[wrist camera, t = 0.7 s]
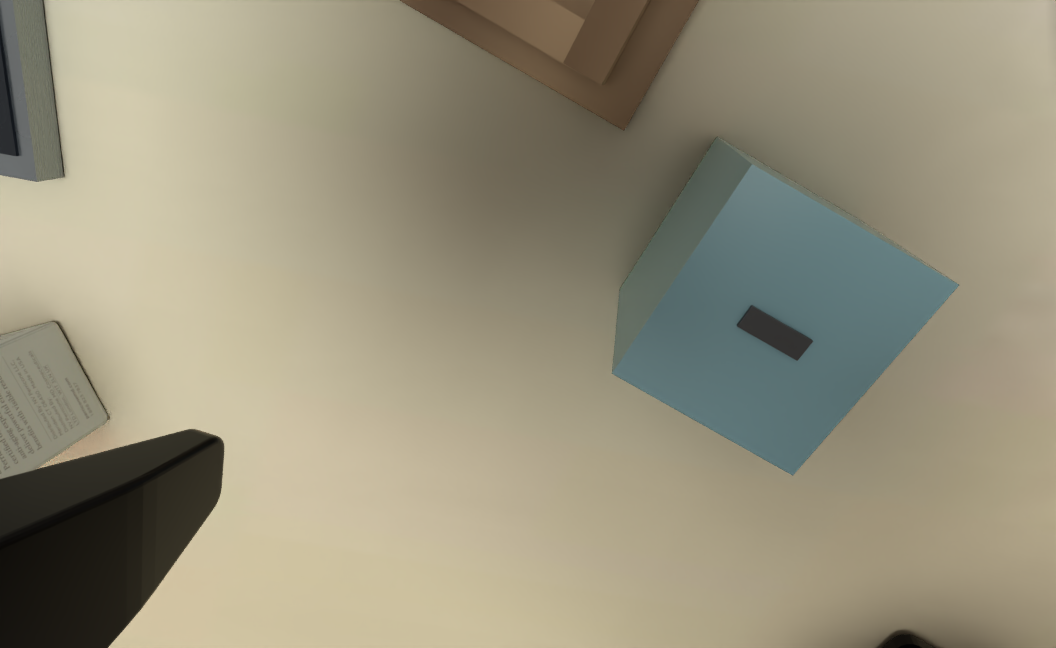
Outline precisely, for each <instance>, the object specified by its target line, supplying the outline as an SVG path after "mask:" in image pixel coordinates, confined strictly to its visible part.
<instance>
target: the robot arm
mask: <svg viewBox="0 0 1056 648" xmlns="http://www.w3.org/2000/svg"><path fill="white" fill-rule="evenodd" d="M223 461H224V443H223V441H222V439H221V438H220V437H218V436H216V435H212V434H209V433H206V432H203V431H200V430H196V429H188V430H184V431H180V432H176V433H173V434H169V435H165V436H161V437H157V438H154V439H150V440H146V441H142V442H138V443H135V444H131V445H127V446H123V447H119V448H116V449H112V450H108V451H104V452H100V453H97V454H93V455H89V456H85V457H81V458H78V459H74V460H70V461H66V462H62V463H59V464H55V465H51V466H47V467H43V468H40V469H36V470H32V471H28V472H24V473H21V474H17V475H13V476H9V477H5V478H2V479H0V648H108V647H109V646H110V645H111V643H112V642H113V641H114V640H115V639H116V638H117V637H118V636H119V634H120V633H121V632H122V631H123V630H124V629H125V628H126V626H127V625H128V624H129V623H130V622H131V620H132V619H133V618H134V617H135V616H136V614H137V613H138V612H139V611H140V610H141V609H142V607H143V606H144V605H145V603H146V602H147V601H148V599H149V598H150V597H151V595H152V594H153V593H154V591H155V590H156V589H157V587H158V586H159V584H160V583H161V582H162V580H163V579H164V577H165V576H166V575H167V573H168V572H169V570H170V569H171V568H172V566H173V565H174V563H175V562H176V561H177V559H178V558H179V556H180V555H181V554H182V552H183V551H184V549H185V548H186V547H187V545H188V544H189V542H190V541H191V540H192V538H193V537H194V535H195V534H196V533H197V531H198V530H199V528H200V527H201V526H202V524H203V523H204V521H205V520H206V519H207V517H208V516H209V515H210V513H211V512H212V510H213V509H214V507H215V506H216V504H217V502H218V499H219V497H220V493H221V488H222V475H223ZM883 648H934V647H933V646H931V645H929V644H927V643H925V642H924V641H922V640H920V639H918V638H916V637H914V636H912V635H904V634H903V635H899V636H896V637H894V638H893V639H892V640H890V641H889V642H888V643H887V644H886V645H885V646H884V647H883Z"/></svg>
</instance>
